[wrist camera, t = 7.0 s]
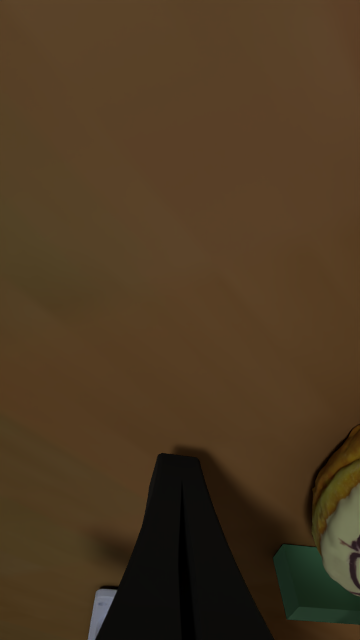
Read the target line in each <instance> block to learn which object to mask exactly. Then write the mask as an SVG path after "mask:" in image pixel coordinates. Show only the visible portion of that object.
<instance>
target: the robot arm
mask: <svg viewBox="0 0 360 640" xmlns="http://www.w3.org/2000/svg"><path fill="white" fill-rule="evenodd" d="M88 640H274V638H273V636H272V634H271V633H270V631H269V629H268V627H267V625H266V623H265V621H264V619H263V617H262V616H261V614H260V612H259V610H258V608H257V606H256V604H255V602H254V600H253V598H252V596H251V594H250V592H249V590H248V588H247V586H246V584H245V582H244V579H243V577H242V575H241V573H240V571H239V569H238V566H237V564H236V562H235V560H234V557H233V555H232V553H231V550H230V548H229V546H228V543H227V541H226V538H225V536H224V533H223V531H222V528H221V525H220V523H219V520H218V518H217V515H216V512H215V510H214V507H213V504H212V501H211V498H210V495H209V492H208V489H207V486H206V483H205V479H204V476H203V472H202V469H201V465H200V461H199V459H198V458H196V457H188V456H181V455H173V454H166V453H161V454H159V455H158V457H157V461H156V464H155V468H154V471H153V475H152V478H151V482H150V486H149V492H148V499H147V505H146V510H145V515H144V520H143V524H142V528H141V530H140V533H139V536H138V539H137V542H136V544H135V547H134V550H133V553H132V555H131V558H130V560H129V563H128V565H127V568H126V570H125V573H124V575H123V578H122V580H121V582H120V585H119V587H118V589H117V590H115V589H99V590H98V591H97V592H96V595H95V601H94V607H93V613H92V618H91V624H90V630H89V636H88Z"/></svg>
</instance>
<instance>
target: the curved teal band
mask: <svg viewBox="0 0 360 640" xmlns="http://www.w3.org/2000/svg"><path fill="white" fill-rule="evenodd" d="M273 561H274V565H275V569H276V574H277V578H278V583H279V587H280V591H281V596H282V600H283V605H284V609H285V613H286V618H287V619H288V620H302V621H316V622H330V623H344V624H358V625H360V597H359V596H356V595H354V594H352V593H350V592H349V591H347V590H346V589H345V588H343V587H342V586H341V585H340V584H339V583H338V582H336V581H335V580H333V579H332V578H331V577H330V576H329V574H328V573H327V572H326V570H325V568H324V566H323V562H322V557H321V555H320V553H319V552H318V550H317V547H307V546H297V545H286V544H283V545H282V546H281V548H280V549H279V550H278V552H277V553H276V555H275V556H274V557H273Z"/></svg>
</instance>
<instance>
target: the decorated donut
mask: <svg viewBox="0 0 360 640" xmlns="http://www.w3.org/2000/svg"><path fill="white" fill-rule="evenodd" d="M312 490H313V501H312V523H313V525H312V528H311V529H312V535H313V538H314V541H315V544H316V547H317V550H318V552H319V553H320V555H321V557H322V562H323V566H324V568H325V570H326V572H327V573H328V574H329V576H330V577H331V578H332V579H333V580H335V581H336V582H338V583H339V584H340V585H341V586H342V587H343V588H345V589H346V590H347V591H349V592H350V593H352V594H354V595H356V596H359V597H360V424H359V425H358V426H356V427H354V428H353V429H352V431H351V432H350V434H349V437H348V439H346V440H345V442H344V444H343V445H342V446H341V447H340V448H339V449H338V450H337V451H336V452H334V454H333V455H332V456H331V457H330V459H329V460H328V462H327V464H326V465H325V466H324V467H323V468H322V469H321V470H320V472H319V473H318V476H317V478H316V480H315V487H314V488H312Z"/></svg>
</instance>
